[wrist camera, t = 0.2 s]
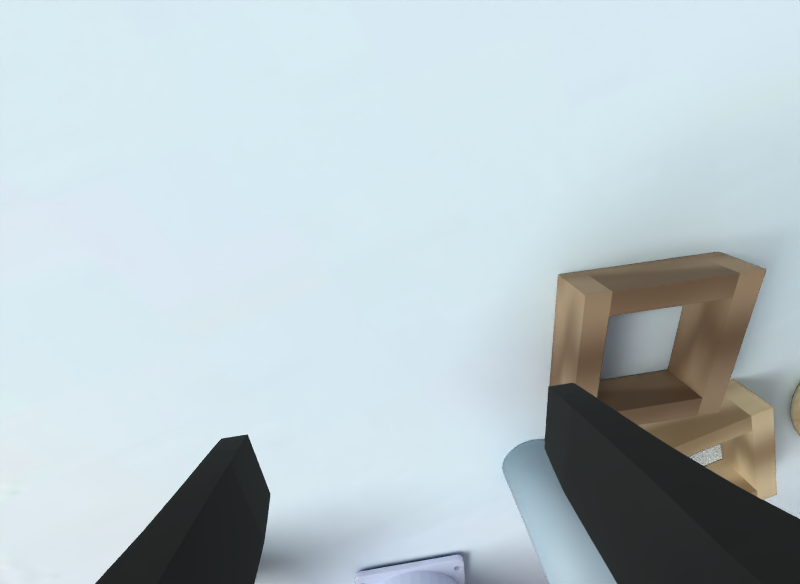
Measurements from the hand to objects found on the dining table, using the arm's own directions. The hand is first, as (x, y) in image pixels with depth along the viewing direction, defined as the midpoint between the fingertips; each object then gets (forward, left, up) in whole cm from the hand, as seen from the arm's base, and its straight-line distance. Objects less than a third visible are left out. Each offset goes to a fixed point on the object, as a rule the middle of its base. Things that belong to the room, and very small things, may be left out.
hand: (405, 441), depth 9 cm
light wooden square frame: (-15, -18, -10) cm, 26 cm away
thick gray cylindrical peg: (-14, -8, -10) cm, 19 cm away
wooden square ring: (-5, -13, -10) cm, 17 cm away
